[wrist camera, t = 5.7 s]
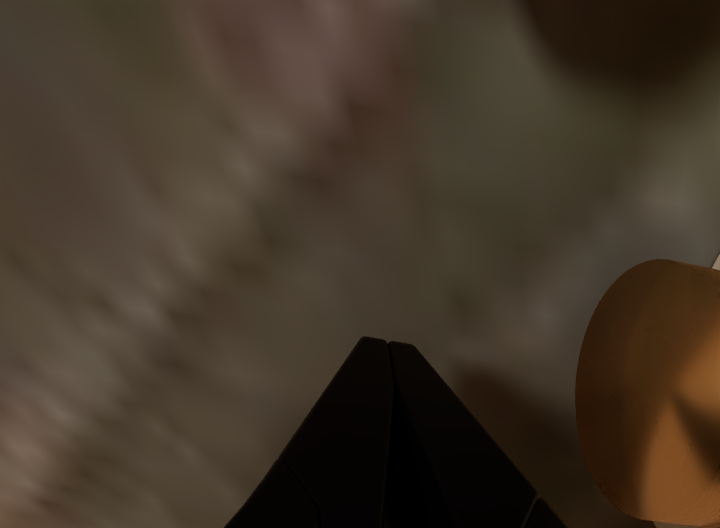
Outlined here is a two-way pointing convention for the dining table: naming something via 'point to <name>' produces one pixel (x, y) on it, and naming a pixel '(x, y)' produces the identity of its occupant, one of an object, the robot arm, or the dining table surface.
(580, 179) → the dining table surface
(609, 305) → the knob outer
